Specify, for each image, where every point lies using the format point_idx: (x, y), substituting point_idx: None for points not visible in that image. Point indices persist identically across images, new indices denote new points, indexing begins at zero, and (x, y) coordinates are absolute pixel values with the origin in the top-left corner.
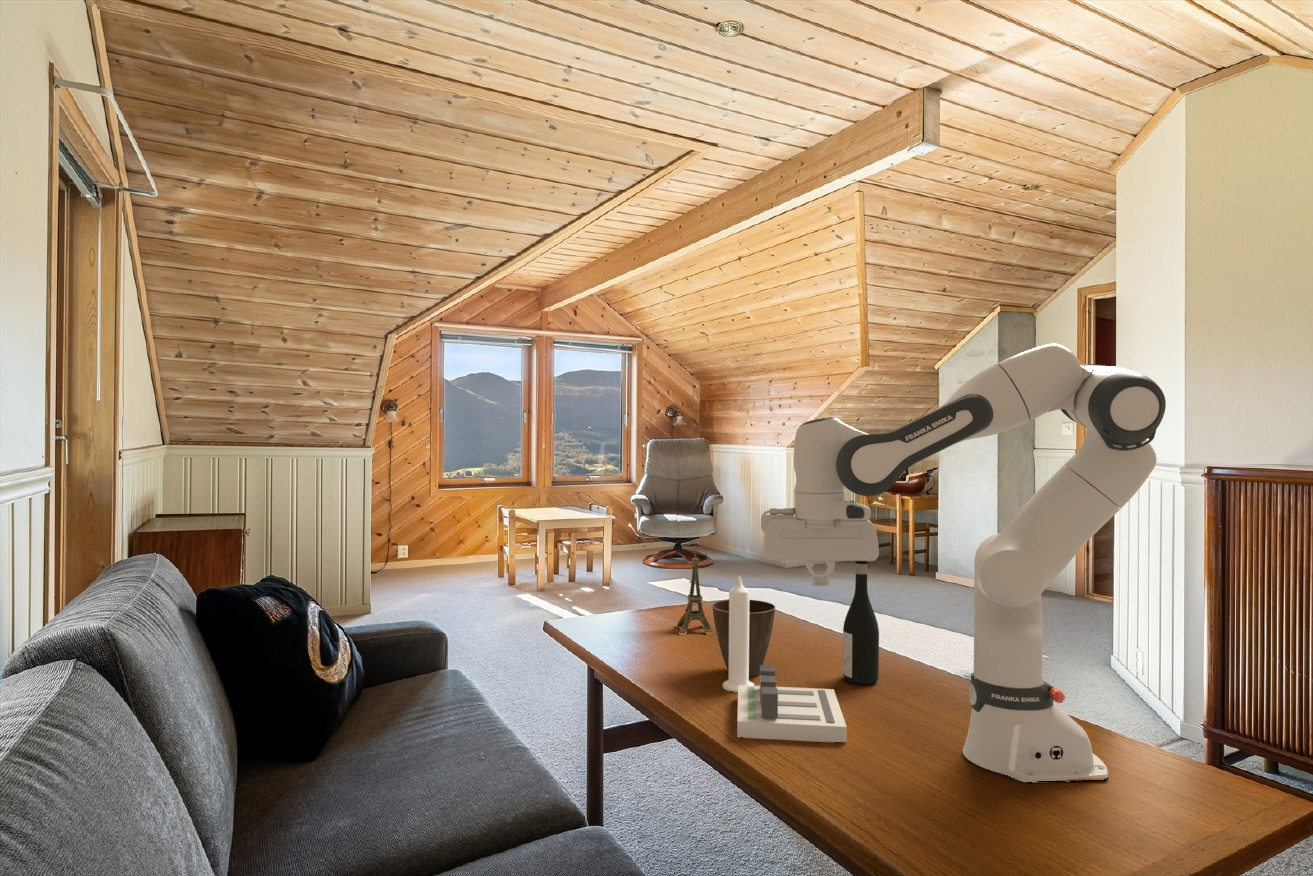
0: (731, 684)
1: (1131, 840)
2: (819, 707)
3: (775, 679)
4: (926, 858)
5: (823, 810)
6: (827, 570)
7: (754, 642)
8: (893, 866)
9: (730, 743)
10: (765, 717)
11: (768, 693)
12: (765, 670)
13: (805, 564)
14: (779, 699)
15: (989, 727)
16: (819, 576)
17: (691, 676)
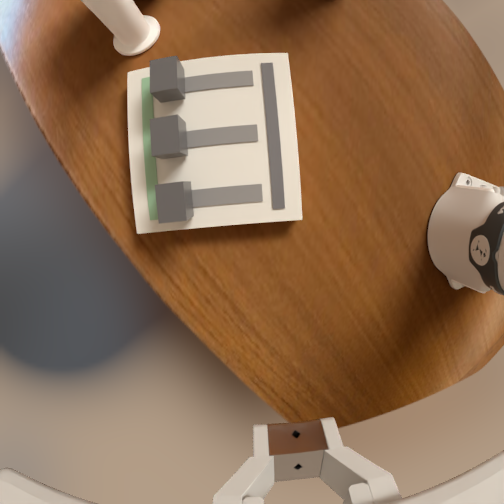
0: (123, 44)
1: (467, 357)
2: (262, 140)
3: (178, 134)
4: None
5: (258, 388)
6: (341, 481)
7: None
8: None
9: (139, 251)
10: None
11: (170, 219)
12: (159, 87)
13: (214, 502)
14: (194, 117)
15: (465, 272)
16: (291, 479)
17: (77, 24)
